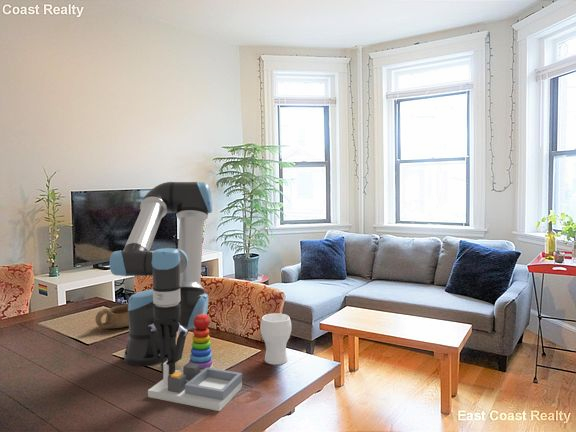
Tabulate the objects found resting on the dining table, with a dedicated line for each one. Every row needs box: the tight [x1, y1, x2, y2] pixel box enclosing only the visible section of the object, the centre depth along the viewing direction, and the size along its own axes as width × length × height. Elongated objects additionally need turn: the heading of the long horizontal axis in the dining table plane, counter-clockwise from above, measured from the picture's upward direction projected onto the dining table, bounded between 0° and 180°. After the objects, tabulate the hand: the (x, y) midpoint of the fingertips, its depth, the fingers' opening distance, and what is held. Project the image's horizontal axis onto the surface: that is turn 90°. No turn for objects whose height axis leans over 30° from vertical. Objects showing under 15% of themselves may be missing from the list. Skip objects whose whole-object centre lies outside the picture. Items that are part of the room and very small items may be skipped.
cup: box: [259, 312, 292, 365], centre depth 150 cm, size 11×11×15 cm
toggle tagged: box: [168, 372, 186, 393], centre depth 125 cm, size 4×3×5 cm
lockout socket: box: [185, 367, 243, 400], centre depth 127 cm, size 12×12×2 cm
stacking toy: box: [188, 314, 214, 372], centre depth 141 cm, size 8×8×19 cm
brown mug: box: [94, 303, 129, 329], centre depth 183 cm, size 18×14×10 cm
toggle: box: [182, 362, 200, 381], centre depth 132 cm, size 4×3×4 cm
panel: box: [147, 369, 243, 412], centre depth 128 cm, size 23×14×2 cm, turn 71°
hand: (168, 383), depth 126 cm, fingers closed
